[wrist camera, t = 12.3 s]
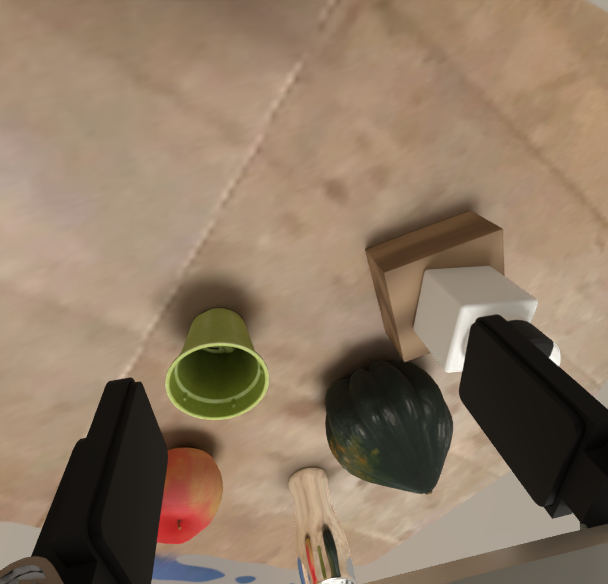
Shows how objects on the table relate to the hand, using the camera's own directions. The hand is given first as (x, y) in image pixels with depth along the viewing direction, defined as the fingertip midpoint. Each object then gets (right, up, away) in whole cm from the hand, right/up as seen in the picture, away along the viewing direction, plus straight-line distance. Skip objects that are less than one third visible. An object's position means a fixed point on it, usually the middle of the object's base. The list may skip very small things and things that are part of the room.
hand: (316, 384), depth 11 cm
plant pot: (-10, -2, +32) cm, 34 cm away
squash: (+9, -10, +41) cm, 43 cm away
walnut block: (+14, +5, +34) cm, 37 cm away
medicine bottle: (+15, +2, +29) cm, 32 cm away
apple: (-16, -19, +41) cm, 48 cm away
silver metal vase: (0, -26, +48) cm, 55 cm away
